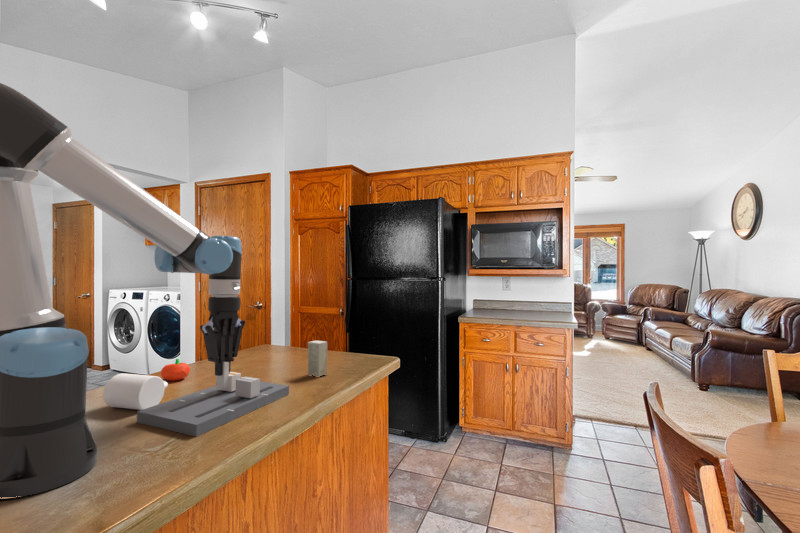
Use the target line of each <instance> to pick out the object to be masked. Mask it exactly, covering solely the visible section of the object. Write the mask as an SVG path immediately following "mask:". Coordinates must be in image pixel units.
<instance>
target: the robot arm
mask: <svg viewBox="0 0 800 533" xmlns="http://www.w3.org/2000/svg"><path fill="white" fill-rule="evenodd" d="M40 173H42V174H44V175H46V176H47V177H48V178H49V179H51V180H53V181H55V182H56V183H58V184H59V185H61V186H63V188H66V189H68V190H69V191H70V192H71V193H73V194H76V195H77V196H78V197H79V198H82V199H83V200H84V201H86V202H87V203H90V204H91V205H92V206H94V207H96V208H97V209H99V210H100V211H102V212H103V213H105V214H107V215H108V216H110V217H111V218H113V219H114V220H116V221H117V222H120V223H121V225H124V226H126V227H128V228H129V229H130V230H132V231H133V232H135V233H136V234H138V235H140V236H141V237H143V238H145V239H146V240H148V241H149V242H151V243H152V244H154V245H155V249H154V264H155V267H156V269H157V270H158V271H159V272H161V273H172V274H173V273H174V274H175V273H183V274H184V273H186V274H187V273H188V274H205V275H208V295H209V297H208V303H207V306H208V307H207V308H208V311H209V313H210V314H209V316H208V322H206V323H205V324H200V326H199V329H200V331H201V333H202V335H203V338H204V339H203V340H204V345H205V351H206V357H207V361H208V362H212V363H214V375H215V376H216V377H215V386H216V387H218V388H223V389H224V388H227V387H228V386H229V373H230V372H231V366H232V365H231V362H234V361H235V358H236V357H238V354H239V348H240V343H241V338H242V333H243V329H244V327H245V325H246V320H244V319H240V318H239V313H238V311H240V310H241V297H240V296H238V295H240V294H241V279H242V278H241V277H242V273H241V272H242V256H243V253H242V252H243V251H242V248H243V247H242V241H241V239H240V238H239V237H237V236H231V235H212V236H209V235H208V234H206V233H205V232H203V231H202V230H201V229H199V228H198V227H197V226H195V225H194V224H192V223H191V222H189V221H188V220H187V219H185V218H184V217H182V215H180V214H178V213H177V212H175V211H174V210H173V209H171V207H169V206H167V205H166V204H165V203H163V202H162V201H160V200H159V199H158V198H156V197H155V196H154V195H153V194H151V193H149V192H148V191H147V190H145V189H144V188H142V187H141V186H140V185H138V184H137V183H135V182H134V181H133V180H132V179H130V178H128V177H127V176H126V175H124V173H122V172H121V171H119V170H117V169H116V168H115V167H113V166H112V165H111V164H110V163H108V162H106V161H105V160H104V159H102V158H101V157H100V156H98V155H97V154H95V153H94V152H93V151H92V150H90V149H89V148H87V147H86V146H84V145H83V144H82V143H80V142H79V141H78V140H76V139H75V138H74V137H73V136H72V131H71V129H70V128H69V126H67V125H66V124H64V122H61V121H60V120H59V119H57V118H56V117H55V116H53V115H52V114H51V113H49V112H48V111H46V110H45V109H44V108H43V107H42V106H40V105H39V104H37V103H36V102H35V101H33V100H31V99H30V98H28V97H27V96H26V95H24V94H23V93H21V92H20V91H18V90H16V89H15V88H12V87H10V86H8V85H7V84H4V83H2V82H0V497H1V498H2V497H16V496H17V497H18V496H25V497H27V496H26V495H30V496H33V495H32V494H34V495H37V494H41V493H44V492H47V491H50V490H54V489H56V488H59V487H61V486H64V485H67V484H69V483H71V482H73V481H75V480H77V479H79V478H81V477H82V476H84V475H85V474H87V473H88V472H90V471H91V470H92V469H93V468H94V467H95V466H96V464H97V461H98V458H97V457H98V447H97V444H96V442H95V440H94V439H95V438H94V437H93V435H92V433H91V429H90V427H89V425H88V422H87V419H86V414H87V413H86V409H87V408H86V406H87V405H86V404H87V384H88V383H87V381H88V380H87V378H88V358H89V355H90V354H89V353H90V348H89V345H88V338H87V335H86V334H85V333H84V332H82V331H80V330H77V329H74V328H67V324H66V317H65V314H63V313H61V312H60V311H58V310H57V309H55V308H54V307H53V305H52V299H51V293H50V289H49V283H48V278H47V277H48V276H47V271H46V266H45V261H44V255H43V250H42V245H41V244H42V243H41V239H40V233H39V228H38V222H37V217H36V216H37V215H36V211H35V207H34V201H33V200H34V199H33V195H32V191H31V190H32V189H31V182H32V181H33V180H34V179H36V178H37V177H38V176H39V175H40Z"/></svg>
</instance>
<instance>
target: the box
mask: <svg viewBox="0 0 800 533" xmlns="http://www.w3.org/2000/svg"><path fill="white" fill-rule="evenodd" d="M324 374H327V375H328V341H326V340H324V341H323V340H312V341H308V342H307V376H308V375H313V376H321V375H324ZM313 376H312V377H313Z"/></svg>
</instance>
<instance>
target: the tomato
mask: <svg viewBox="0 0 800 533" xmlns="http://www.w3.org/2000/svg"><path fill="white" fill-rule="evenodd" d="M190 371H191V367H190V365H189V364H188V363H186V362H180V359H179V358H176V359H175V363H169V364H165V365H164V366H163V367H162V368H161V369H160V376H161V377H162V379H164V380H165V381H171V382H172V381H173V382H174V381H175V382H176V381H180V380H183V379H185V378H186V377H188V376H189V374H190V373H191V372H190Z"/></svg>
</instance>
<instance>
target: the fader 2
mask: <svg viewBox="0 0 800 533" xmlns="http://www.w3.org/2000/svg"><path fill="white" fill-rule="evenodd" d="M260 381H261V378H258V377H250V376H241V378H239V379H236V393H235V396H240V397H246V398H253V397H255V396H257V395H260Z"/></svg>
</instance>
